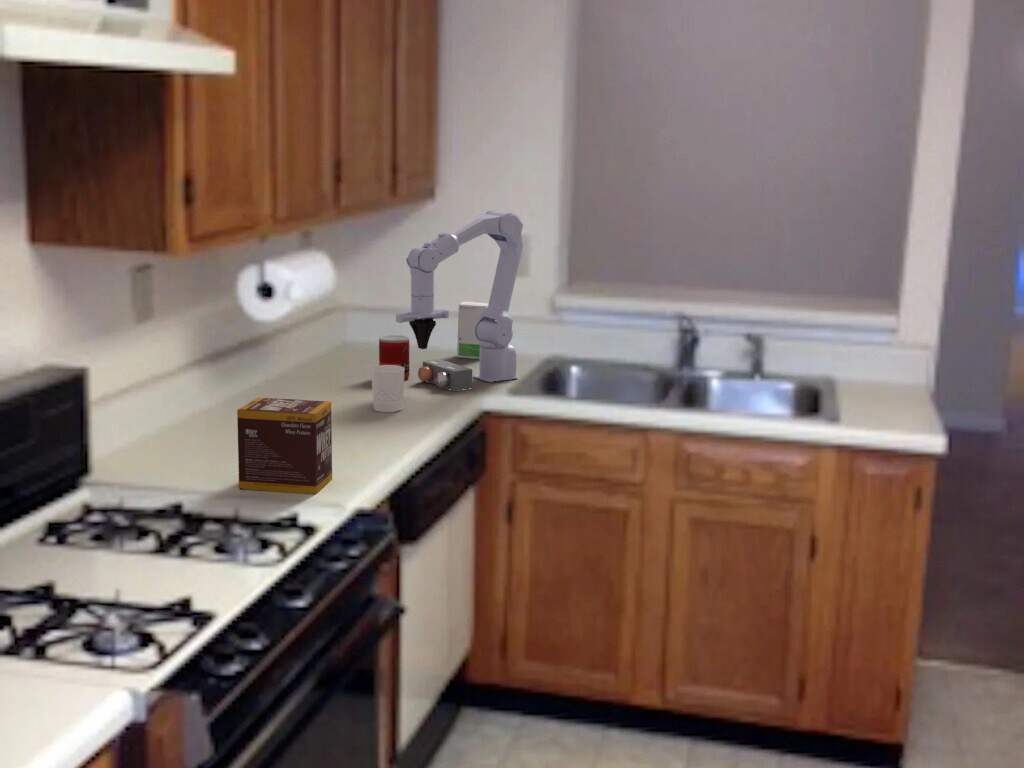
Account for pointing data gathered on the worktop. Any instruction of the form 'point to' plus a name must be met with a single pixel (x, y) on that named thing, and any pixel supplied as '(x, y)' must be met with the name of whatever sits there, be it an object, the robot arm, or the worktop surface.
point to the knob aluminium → (442, 379)
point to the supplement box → (285, 445)
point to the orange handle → (425, 373)
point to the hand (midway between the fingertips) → (422, 348)
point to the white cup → (388, 387)
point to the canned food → (394, 352)
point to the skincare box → (469, 329)
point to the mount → (451, 374)
